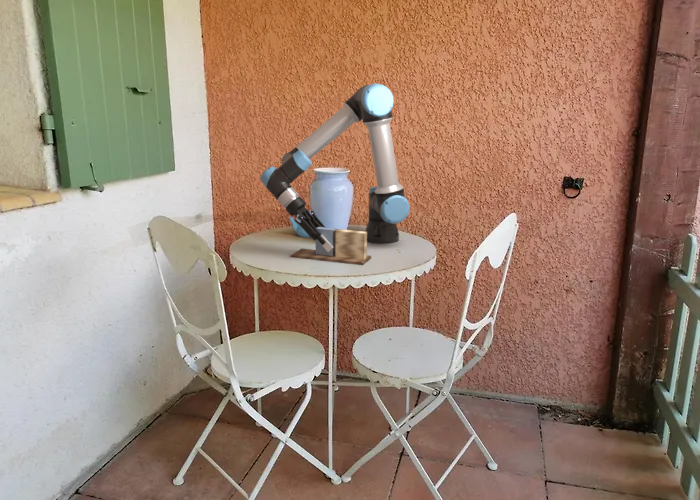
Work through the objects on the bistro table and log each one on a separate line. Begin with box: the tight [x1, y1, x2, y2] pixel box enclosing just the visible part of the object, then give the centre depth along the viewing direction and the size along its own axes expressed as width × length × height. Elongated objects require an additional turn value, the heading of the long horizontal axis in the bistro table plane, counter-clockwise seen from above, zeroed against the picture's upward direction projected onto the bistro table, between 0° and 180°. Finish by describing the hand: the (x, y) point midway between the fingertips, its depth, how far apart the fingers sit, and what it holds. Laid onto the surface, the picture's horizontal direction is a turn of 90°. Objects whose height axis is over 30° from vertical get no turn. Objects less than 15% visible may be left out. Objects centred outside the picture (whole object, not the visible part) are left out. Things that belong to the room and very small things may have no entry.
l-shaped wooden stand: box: [290, 228, 372, 266], centre depth 206 cm, size 29×10×11 cm, turn 70°
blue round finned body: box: [288, 210, 312, 239], centre depth 243 cm, size 15×15×11 cm
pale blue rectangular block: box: [315, 227, 337, 256], centre depth 206 cm, size 7×3×10 cm, turn 70°
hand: (332, 248), depth 206 cm, fingers closed on l-shaped wooden stand, 3 cm apart
